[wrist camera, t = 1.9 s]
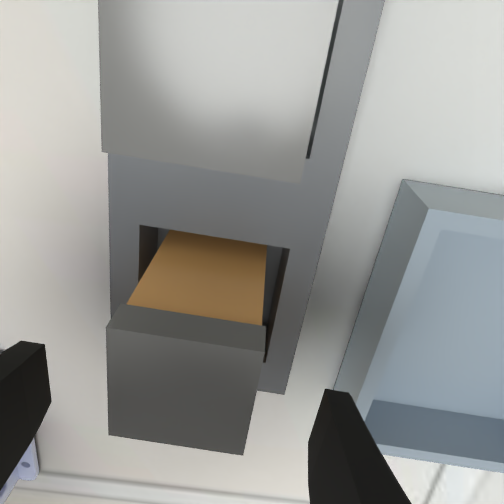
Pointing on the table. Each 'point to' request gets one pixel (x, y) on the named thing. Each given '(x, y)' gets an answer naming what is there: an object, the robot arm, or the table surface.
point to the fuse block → (251, 200)
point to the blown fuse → (189, 345)
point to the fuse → (213, 81)
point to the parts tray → (434, 331)
